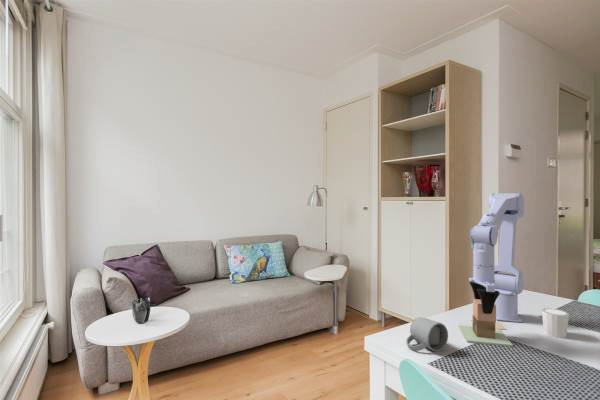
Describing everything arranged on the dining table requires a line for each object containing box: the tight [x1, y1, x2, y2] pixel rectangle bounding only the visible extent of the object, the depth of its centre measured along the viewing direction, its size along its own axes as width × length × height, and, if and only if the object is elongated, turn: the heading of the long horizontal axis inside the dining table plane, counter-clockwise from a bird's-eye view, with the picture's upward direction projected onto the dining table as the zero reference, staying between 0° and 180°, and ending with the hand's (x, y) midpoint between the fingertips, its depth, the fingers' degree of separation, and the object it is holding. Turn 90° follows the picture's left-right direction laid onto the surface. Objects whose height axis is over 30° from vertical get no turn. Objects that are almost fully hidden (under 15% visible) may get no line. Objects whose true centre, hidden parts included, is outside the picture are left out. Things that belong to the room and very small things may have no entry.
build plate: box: [457, 325, 514, 347], centre depth 102 cm, size 12×12×1 cm
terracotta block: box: [472, 298, 497, 322], centre depth 102 cm, size 5×5×5 cm
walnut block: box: [472, 314, 495, 338], centre depth 102 cm, size 5×5×5 cm
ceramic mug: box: [405, 316, 449, 352], centre depth 95 cm, size 11×8×8 cm
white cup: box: [541, 307, 570, 339], centre depth 103 cm, size 7×7×7 cm
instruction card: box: [470, 319, 507, 331], centre depth 111 cm, size 6×9×1 cm, turn 76°
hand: (483, 309), depth 102 cm, fingers open, 7 cm apart
